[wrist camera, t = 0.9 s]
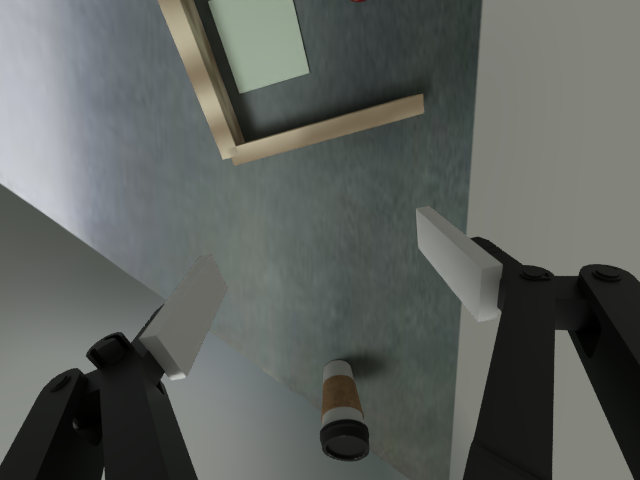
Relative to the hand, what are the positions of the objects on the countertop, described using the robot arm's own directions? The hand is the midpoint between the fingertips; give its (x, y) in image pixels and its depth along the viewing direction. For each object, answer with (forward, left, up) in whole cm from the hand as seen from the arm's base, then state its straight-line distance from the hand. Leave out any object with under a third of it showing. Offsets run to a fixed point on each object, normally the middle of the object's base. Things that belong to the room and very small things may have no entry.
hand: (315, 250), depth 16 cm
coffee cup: (+42, -6, -23) cm, 48 cm away
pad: (-16, -2, -23) cm, 28 cm away
